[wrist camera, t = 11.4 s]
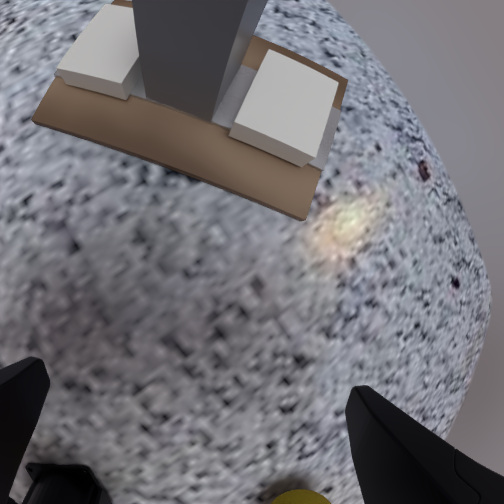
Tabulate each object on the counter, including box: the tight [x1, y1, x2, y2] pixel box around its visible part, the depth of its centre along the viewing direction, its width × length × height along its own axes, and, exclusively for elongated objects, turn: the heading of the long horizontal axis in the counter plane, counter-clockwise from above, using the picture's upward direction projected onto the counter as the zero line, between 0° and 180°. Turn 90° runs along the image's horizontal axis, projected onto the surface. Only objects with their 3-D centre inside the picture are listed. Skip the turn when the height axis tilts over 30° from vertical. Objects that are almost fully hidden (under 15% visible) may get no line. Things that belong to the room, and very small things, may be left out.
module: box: [132, 0, 268, 122], centre depth 11 cm, size 5×4×13 cm
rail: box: [54, 65, 341, 172], centre depth 18 cm, size 5×20×1 cm, turn 70°
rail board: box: [31, 0, 348, 221], centre depth 18 cm, size 12×20×1 cm, turn 70°
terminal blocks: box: [56, 4, 339, 167], centre depth 16 cm, size 6×17×2 cm, turn 70°
